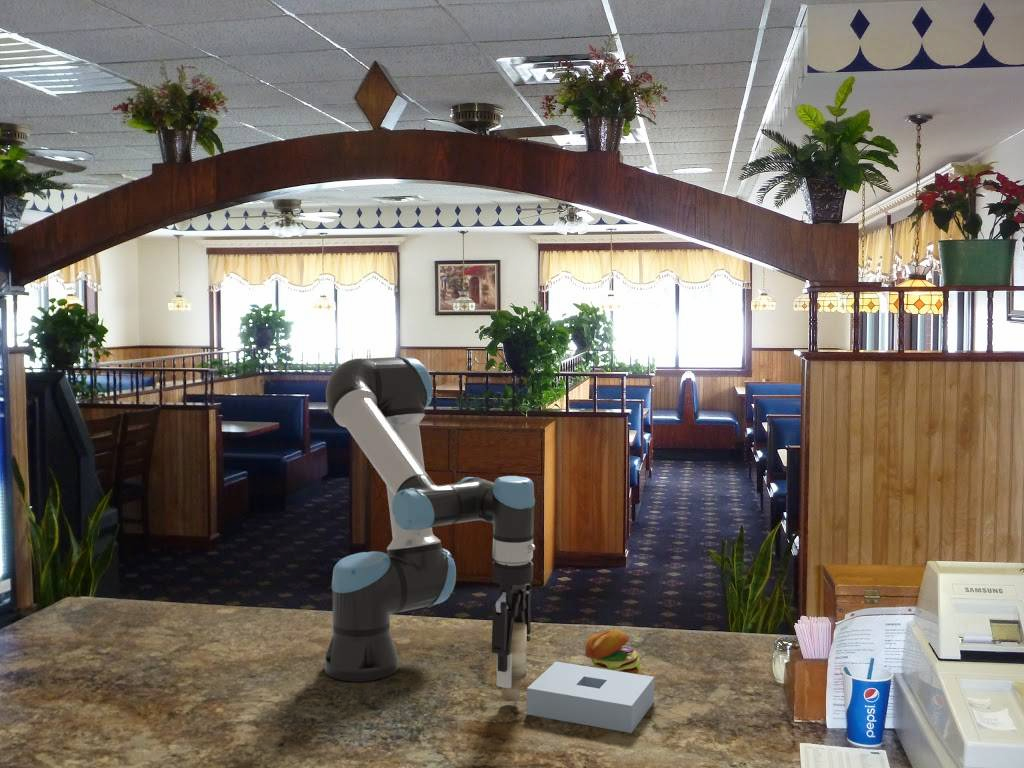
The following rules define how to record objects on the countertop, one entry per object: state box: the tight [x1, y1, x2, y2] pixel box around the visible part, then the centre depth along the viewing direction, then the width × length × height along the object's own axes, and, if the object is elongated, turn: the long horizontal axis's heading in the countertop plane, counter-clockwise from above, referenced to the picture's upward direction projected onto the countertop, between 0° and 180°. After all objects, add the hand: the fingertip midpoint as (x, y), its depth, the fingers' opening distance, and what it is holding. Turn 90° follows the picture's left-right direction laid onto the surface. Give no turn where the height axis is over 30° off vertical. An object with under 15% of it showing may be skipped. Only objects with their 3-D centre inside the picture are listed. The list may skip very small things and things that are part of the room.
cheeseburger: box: [585, 628, 643, 675], centre depth 207 cm, size 10×11×10 cm
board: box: [526, 661, 655, 734], centre depth 189 cm, size 20×15×5 cm
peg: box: [495, 621, 528, 702], centre depth 190 cm, size 6×6×14 cm
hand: (510, 680), depth 190 cm, fingers closed on peg, 6 cm apart
